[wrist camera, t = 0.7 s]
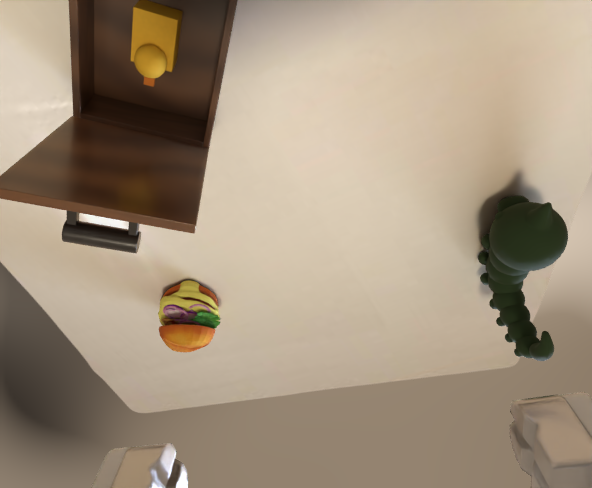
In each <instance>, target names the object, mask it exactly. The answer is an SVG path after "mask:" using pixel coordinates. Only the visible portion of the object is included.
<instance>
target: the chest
mask: <svg viewBox="0 0 592 488" xmlns="http://www.w3.org/2000/svg"><path fill="white" fill-rule="evenodd" d="M138 1H139V0H69V15H70V41H71V67H72V92H73V117H78V118H82V119H86V120H91V121H95V122H99V123H104V124H108V125H112V126H116V127H121V128H125V129H129V130H134V131H138V132H142V133H147V134H151V135H155V136H159V137H164V138H168V139H172V140H177V141H181V142H185V143H189V144H194V145H198V146H202V147H207V148H209V146H210V140H211V135H212V130H213V125H214V120H215V114H216V109H217V104H218V99H219V93H220V88H221V83H222V78H223V73H224V67H225V62H226V57H227V52H228V46H229V41H230V36H231V31H232V26H233V20H234V15H235V10H236V5H237V0H148V1H151V2H154V3H157V4H161V5H164V6H167V7H170V8H174V9H177V10H180V11H182V12H183V13H182V21H181V30H180V38H179V46H178V55H177V61H176V64H175V66H174V68H173V71H172V72H169V71H166V70H165V72H164V73H163V74H162V75H161V76H160V77H157V78H155V85H154V87H152V86H148V85H145V84H144V76H143V75H142V74H141V73H139V71H138V70H137V68H136V66H135V63H134V62H132V61H131V43H132V23H133V7H134V6H135V5H136V4H137V2H138Z"/></svg>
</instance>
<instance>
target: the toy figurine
mask: <svg viewBox="0 0 592 488" xmlns="http://www.w3.org/2000/svg"><path fill="white" fill-rule="evenodd" d="M497 209H498V213H497V214H496V215H495V219H494V221H493V223H492V226H491V229H490V233H489V234H486V235H484V236H483V237H482V239H481V243H482V245H483V247H484V248H485V249H487V250H489V253H488V252H482V253H480V254H479V256H478V260H479V262H480V263H481V264H484V265H486V270H487V273H484V274H482V276H481V277H480V279H481V282H482V283H483V284H485V285H488V284H489V287H490V289H491V290H492V291H493V292H494V293H493V299H491V300H490V302H489V303H490V306H491V307H492V308H493V309H498V310H499V311H500V317H499V318H497V320H496V322H497V324H498V325H499V326H504V325H506V326H507V327H508V333H507V334H506V335H505V339H506V341H507V342H513V341H514V342H515V343H516V349H515V351H514V353H515V355H516V356H518V357H520V356H524V357H526V358H534V359H536V360H539V361H545V360H547V359H549V358H550V357H551V356H552V355H553V352H554V345H553V342H552V339H551V337H550V335H549V333H548V332H547V331H543V332H542V336H541V340H540V341H539V339H538V338H537V337H536V335H537V331H536V328H535V326H534V325H533V324H532V323H531V322H530V321H529V320H530V313H529V310H528V309H527V307H526V306H525V305H524V303H525V296H524V294H523V292H522V291H521V288H522V286H523V280H524V279H525V278H526V277H527V275H528V273H529V271H534V270H539V269H542V268H545V267H547V266H549V265H551V264H552V263H554V262H555V261H556V260H557V259H558V258H559V257H560V256H561V254H562V253H563V252H564V250H565V247H566V245H567V240H568V231H567V228H566V224H565V222H564V220H563V219H562V217H561V216H560V215H559V214H558V213H557V212H556V211H555V210H553V209H552V205H551V203H545V204H540V203H534V202H529V200H528V199H527V198H525V197H524V196H511V197H507V198H504V199H502V200H501V201H500V202H499V203H498V206H497Z"/></svg>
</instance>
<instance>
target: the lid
mask: <svg viewBox="0 0 592 488" xmlns="http://www.w3.org/2000/svg"><path fill="white" fill-rule="evenodd" d="M208 151H209V148H207V147H202V146H198V145H194V144H189V143H185V142H181V141H177V140H172V139H168V138H164V137H159V136H155V135H151V134H147V133H142V132H138V131H134V130H129V129H125V128H121V127H116V126H112V125H108V124H104V123H99V122H95V121H91V120H86V119H82V118H78V117H73V116H72V117H70V118H69V119H68V120H67V121H66V122H64V123H63V124H62V125H61V126H60V127H58V128H57V129H56V130H55V131H54V132H52V133H51V134H50V135H49V136H48V137H46V138H45V139H44V140H43V141H42V142H40V143H39V144H38V145H37V146H36V147H34V148H33V149H32V150H31V151H30V152H28V153H27V154H26V155H25V156H24V157H22V158H21V159H20V160H19V161H18V162H16V163H15V164H14V165H13V166H12V167H10V168H9V169H8V170H7V171H6V172H4V173H3V174H2V175H1V176H0V198H1V199H7V200H12V201H18V202H23V203H29V204H34V205H40V206H45V207H51V208H56V209H62V210H67V220H66V222H65V224H64V226H63V230H62V240H63V241H64V242H70V243H76V244H82V245H88V246H94V247H100V248H106V249H113V250H119V251H125V252H131V253H137V252H138V249H139V245H140V239H141V232H139V224H145V225H150V226H156V227H161V228H167V229H172V230H178V231H183V232H189V233H195V229H196V223H197V217H198V211H199V205H200V199H201V193H202V187H203V181H204V175H205V169H206V163H207V157H208ZM79 213H84V214H89V215H95V216H100V217H106V218H111V219H117V220H122V221H128V222H129V229H122V228H116V227H111V226H105V225H99V224H94V223H88V222H82V221H79Z"/></svg>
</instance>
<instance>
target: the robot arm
mask: <svg viewBox="0 0 592 488" xmlns="http://www.w3.org/2000/svg"><path fill="white" fill-rule="evenodd" d="M510 412H511V414H512V416H513V418H514V421H513V422H512V424H511V425H510V439H511V443H512V448H513V451H514V453H515V456H516V459H517V461H518V463H519V465H520V467H521V469H522V470H523V471H525V472H526V473H527V474H529V475H530V476H531V477H532V479H531V488H592V398H591V397H590V396H589V395H588V394H587V393H585V392H579V393H571V394H563V395H551V396H543V397H536V398H529V399H522V400H515V401H513V402H512V403H511V411H510ZM176 452H177V451H176V450H175V448H174V446H173V445H172V443H169V444H158V445H148V446H137V447H127V448H118V449H112V450H111V451H110V452H109V453H108V454H107V455H106V457H105V459H104V461H103V463H102V465H101V467H100V470H99V472H98V474H97V476H96V478H95V480H94V483H93V485H92V487H91V488H187V487H188V477H187V472H186V469H185V467H184V465H183V463H182V462H180V461H178V460H177V459H175V456H176Z"/></svg>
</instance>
